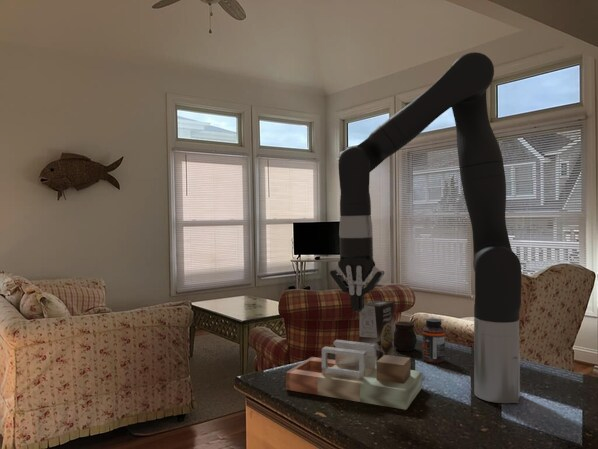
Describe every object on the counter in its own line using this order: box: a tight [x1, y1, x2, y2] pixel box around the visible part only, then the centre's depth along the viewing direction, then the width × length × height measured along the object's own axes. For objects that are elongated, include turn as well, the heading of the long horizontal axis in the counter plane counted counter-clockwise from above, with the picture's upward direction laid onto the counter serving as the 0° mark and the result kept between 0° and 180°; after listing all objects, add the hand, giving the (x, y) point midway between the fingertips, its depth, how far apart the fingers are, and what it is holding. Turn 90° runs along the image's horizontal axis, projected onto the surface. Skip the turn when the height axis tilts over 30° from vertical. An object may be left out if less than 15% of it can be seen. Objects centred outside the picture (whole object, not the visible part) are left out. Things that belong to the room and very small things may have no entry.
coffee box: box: [358, 299, 395, 365], centre depth 137 cm, size 9×6×16 cm
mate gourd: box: [394, 317, 418, 352], centre depth 149 cm, size 7×8×10 cm
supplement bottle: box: [422, 318, 446, 364], centre depth 137 cm, size 6×6×11 cm
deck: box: [285, 356, 422, 411], centre depth 115 cm, size 28×14×4 cm, turn 64°
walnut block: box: [377, 355, 412, 384], centre depth 110 cm, size 6×6×4 cm
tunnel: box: [321, 339, 376, 380], centre depth 115 cm, size 10×9×6 cm
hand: (357, 311), depth 114 cm, fingers closed
